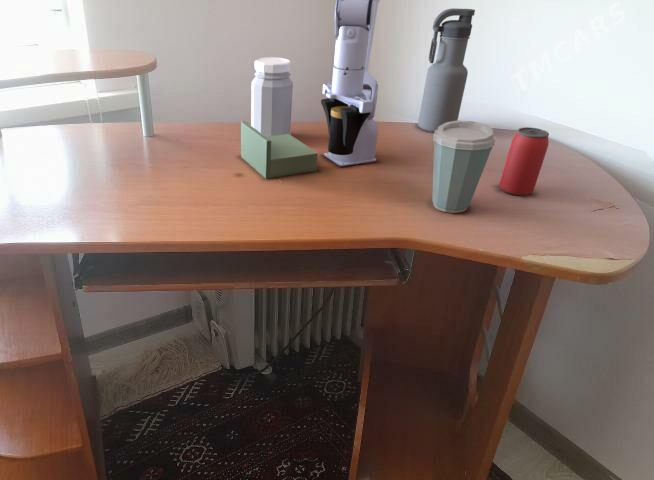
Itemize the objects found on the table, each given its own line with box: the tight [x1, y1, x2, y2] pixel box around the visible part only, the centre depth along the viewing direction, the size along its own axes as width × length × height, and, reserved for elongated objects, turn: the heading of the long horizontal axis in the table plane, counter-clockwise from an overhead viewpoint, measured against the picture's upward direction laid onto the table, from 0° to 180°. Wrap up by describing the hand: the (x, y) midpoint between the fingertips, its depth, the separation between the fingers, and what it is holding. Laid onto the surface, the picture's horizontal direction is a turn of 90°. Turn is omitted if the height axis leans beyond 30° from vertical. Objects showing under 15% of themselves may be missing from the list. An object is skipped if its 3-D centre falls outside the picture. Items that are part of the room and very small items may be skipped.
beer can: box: [498, 127, 550, 197], centre depth 107 cm, size 7×7×12 cm
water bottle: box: [417, 8, 476, 133], centre depth 137 cm, size 10×10×28 cm
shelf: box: [240, 121, 319, 180], centre depth 119 cm, size 12×14×8 cm
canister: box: [327, 106, 354, 155], centre depth 105 cm, size 5×5×8 cm
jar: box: [250, 56, 294, 137], centre depth 131 cm, size 10×10×18 cm
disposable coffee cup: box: [432, 119, 496, 214], centre depth 100 cm, size 11×11×15 cm
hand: (341, 140), depth 107 cm, fingers closed on canister, 5 cm apart
